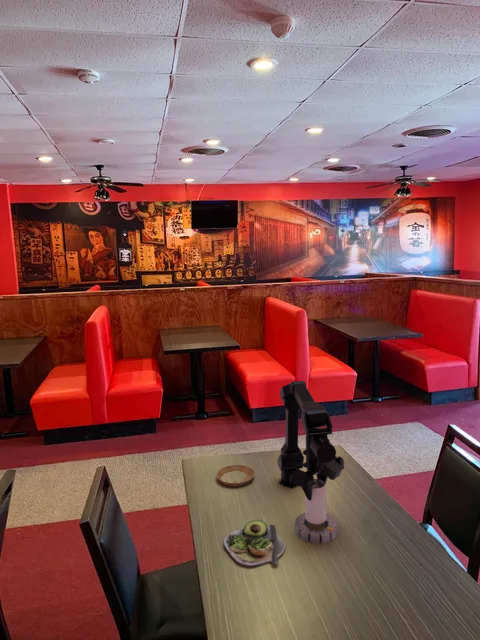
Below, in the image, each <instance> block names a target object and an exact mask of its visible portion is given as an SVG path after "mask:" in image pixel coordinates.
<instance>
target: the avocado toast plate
mask: <svg viewBox="0 0 480 640" xmlns="http://www.w3.org/2000/svg"><path fill="white" fill-rule="evenodd" d="M243 527H244V528H242V529H238V530H234V531H232V532H229V533H227V535H225V536H224V538H223V546H224V549H225V551H227V553H228V554H229V555H230V556H231V558H232V559H234V560H235V561H236V562H237V563H238V564H240V565H243V566H245V567H246V566H247V567H259V566H263V565H265V564H268V563H271V564H272V565H277V564H279V557H281V556H282V555H283V554H284V552H285V549H286V544H285V542H284V540H282V539H281V538H280V536H279V535H278V534H277V533H276V532H277V530H276V529H277V528H276V526H275V525H274V524H269V526H268V525H267V523H266V522H264V521H263V520H260V519H253V520H250V521H248V522H246V523H245V525H244V526H243ZM246 553H249V554H251V555H253V557H255V559H253V560H246V559H243V558H241V557H240V556H238V554H246Z"/></svg>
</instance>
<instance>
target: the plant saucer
mask: <svg viewBox="0 0 480 640" xmlns="http://www.w3.org/2000/svg"><path fill="white" fill-rule="evenodd" d="M233 471H240V472H243V473H245V474H246V477H245V478H243V479H244V480H243V482H242V481H240V483H237V481H235V482H233V483H228V482H224V481H222V480H221V477H222V476H223V475H224V474H225V473H228V472H233ZM255 474H256V473H255V470H254V469H253V468H252V467H250V466H247V465H242V464H232V465H227V466H224V467H221V468H220V469H219V470H217V473H216V478H217V479H218V481H220V482H221V483H222V484H224V485H226V486H228V487H242V486H245V485H246V484H248V483H250V482H251V481H252V479H253V478H254V477H255Z"/></svg>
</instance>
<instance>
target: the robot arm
mask: <svg viewBox="0 0 480 640" xmlns="http://www.w3.org/2000/svg"><path fill="white" fill-rule="evenodd" d="M279 396H280V399H281V402H282V403H283V406H284V407H285V434H284V435H285V439H284V440H285V441H284V444H283V445H282V447H281V448H280V454H279V455H278V457H277V466H278V468H279V470H280V471H281V472H280V473H281V474H280V475H281V479H280V480H279V481H278V483H279V484H281V485H283V486H285V487H289V488H290V489H294V488H295V487H297V486H298V487H301V488H300V489H301V490H302V491H303V493H304V496H305V495H306V497H307V499H308V500H311V499H312V490H313V485H315V484H316V482H314V479H315V478H314V476H316V479H319V480H322V481H323V482H324V483H325V486H326V484H327V481H328V479H329V480H331V481H335V480H336V479H337V478H338V477H340V476H341V474H342V471H343V470H344V469H345V461H344V458H343V457H342V456H336V455H337V450H336V447H335V446H334V444H332V442H331V441H330V439H329V437H328V436H329V435H333V428H334V427H333V424H332V421H331V417H330V414H329V411H327V410H326V408H325V407H324V406H323V405H322V404H321V403H319V402H316V401H315V399H314V397H313V396H312V394H311V393H310V391H309V389H308V388H307V383H306V381H304V380H296V381H290V382H289V383H288V384H285V385H283V386H281V388H280V390H279ZM300 409H301V414H300V415H299V413H300V412H299V411H300ZM299 416H300V418H301V419H300V421H301V424H302V427H303V431H304V435H305V449H304V450H301V448H300V447H299ZM304 460H305V461H304ZM304 468H305V469H306V471H304V470H302V469H304Z"/></svg>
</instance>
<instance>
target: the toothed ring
mask: <svg viewBox="0 0 480 640" xmlns="http://www.w3.org/2000/svg"><path fill="white" fill-rule="evenodd" d="M308 525H312V524H311V523H309V522H308V521H307V520H306V517H305V512H303V513H300V514H298V516H297V517H296V518H295V521H294V532H295V534H296V535H297V537H298V538H300V540H302V541H305V542H307V543H309V542H310V544H317V545H318V544H319V545H320V544H325V543H326V544H327V543H330V542H331V541H333V540H334V539H336V538H337V537H338V520H337V519H335V517H333V516H332V515H331V514H330V513H329V514H328V513H326V521H325V522H324V523H322V524H321V525H322V526H324V527H325V528H324V529H319V530H318V529H317V530H316V529H311V528H309V527H308Z"/></svg>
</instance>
